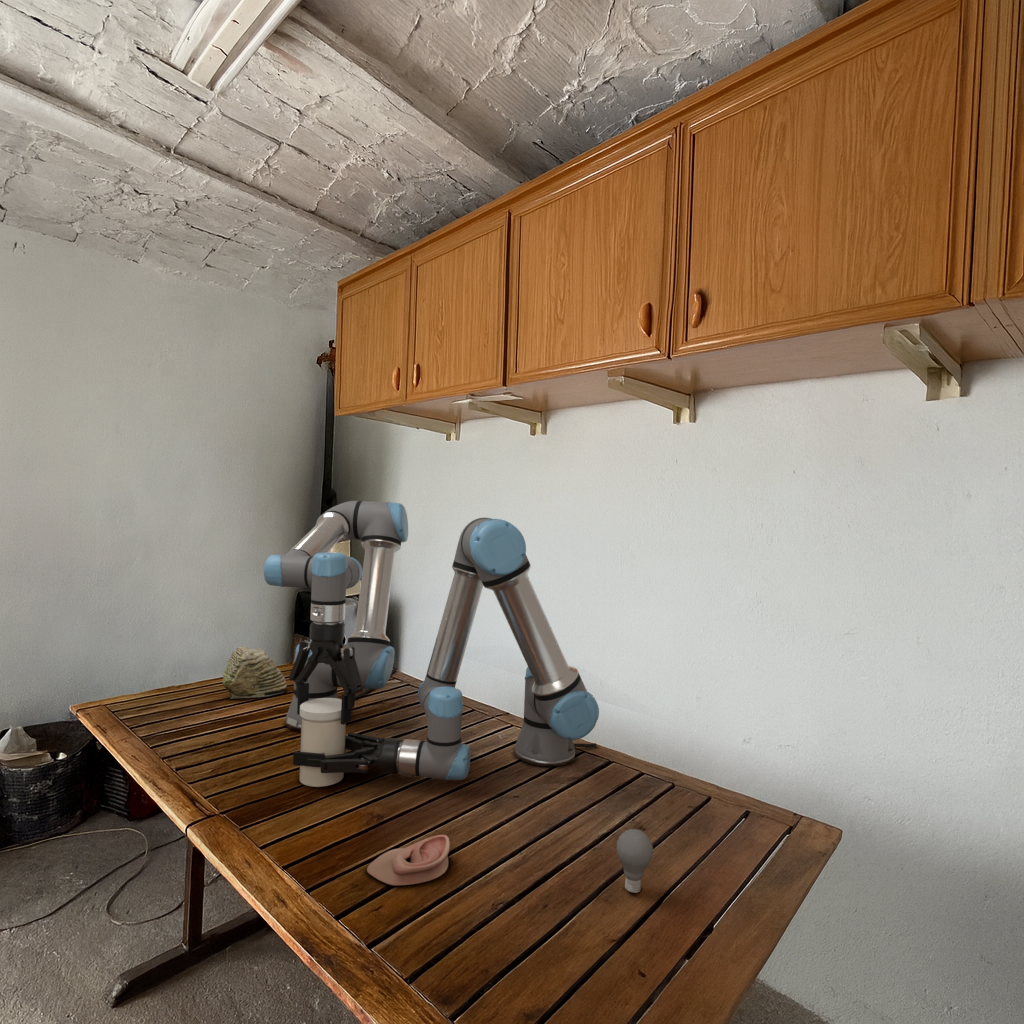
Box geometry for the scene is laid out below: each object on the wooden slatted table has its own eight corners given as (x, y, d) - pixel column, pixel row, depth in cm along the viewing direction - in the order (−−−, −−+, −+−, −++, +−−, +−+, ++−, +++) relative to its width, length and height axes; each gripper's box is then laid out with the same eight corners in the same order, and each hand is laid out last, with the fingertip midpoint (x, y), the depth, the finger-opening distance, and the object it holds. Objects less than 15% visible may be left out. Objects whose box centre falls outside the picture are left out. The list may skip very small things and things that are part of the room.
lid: (324, 702, 150) (325, 695, 150) (358, 711, 145) (358, 703, 145) (289, 714, 141) (289, 706, 141) (323, 724, 136) (324, 716, 136)
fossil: (218, 695, 195) (220, 647, 195) (278, 685, 208) (279, 640, 207) (228, 703, 189) (230, 653, 188) (289, 692, 201) (290, 645, 201)
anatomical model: (359, 856, 105) (387, 822, 116) (358, 879, 105) (386, 843, 116) (435, 869, 102) (456, 833, 114) (434, 893, 103) (455, 855, 114)
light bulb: (610, 879, 108) (613, 822, 108) (644, 879, 109) (647, 822, 109) (619, 902, 102) (622, 840, 102) (655, 901, 103) (658, 840, 103)
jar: (308, 766, 148) (310, 701, 148) (349, 769, 148) (351, 703, 147) (292, 785, 138) (295, 715, 138) (336, 788, 138) (339, 717, 138)
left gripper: (274, 618, 144) (271, 712, 144) (360, 631, 134) (356, 732, 134) (298, 613, 151) (294, 703, 151) (381, 625, 141) (377, 722, 141)
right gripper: (384, 796, 130) (280, 787, 132) (412, 753, 152) (323, 746, 155) (386, 760, 130) (282, 751, 132) (413, 722, 152) (324, 715, 154)
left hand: (324, 717), depth 143 cm, fingers open, 12 cm apart
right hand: (304, 748), depth 143 cm, fingers closed on jar, 10 cm apart
